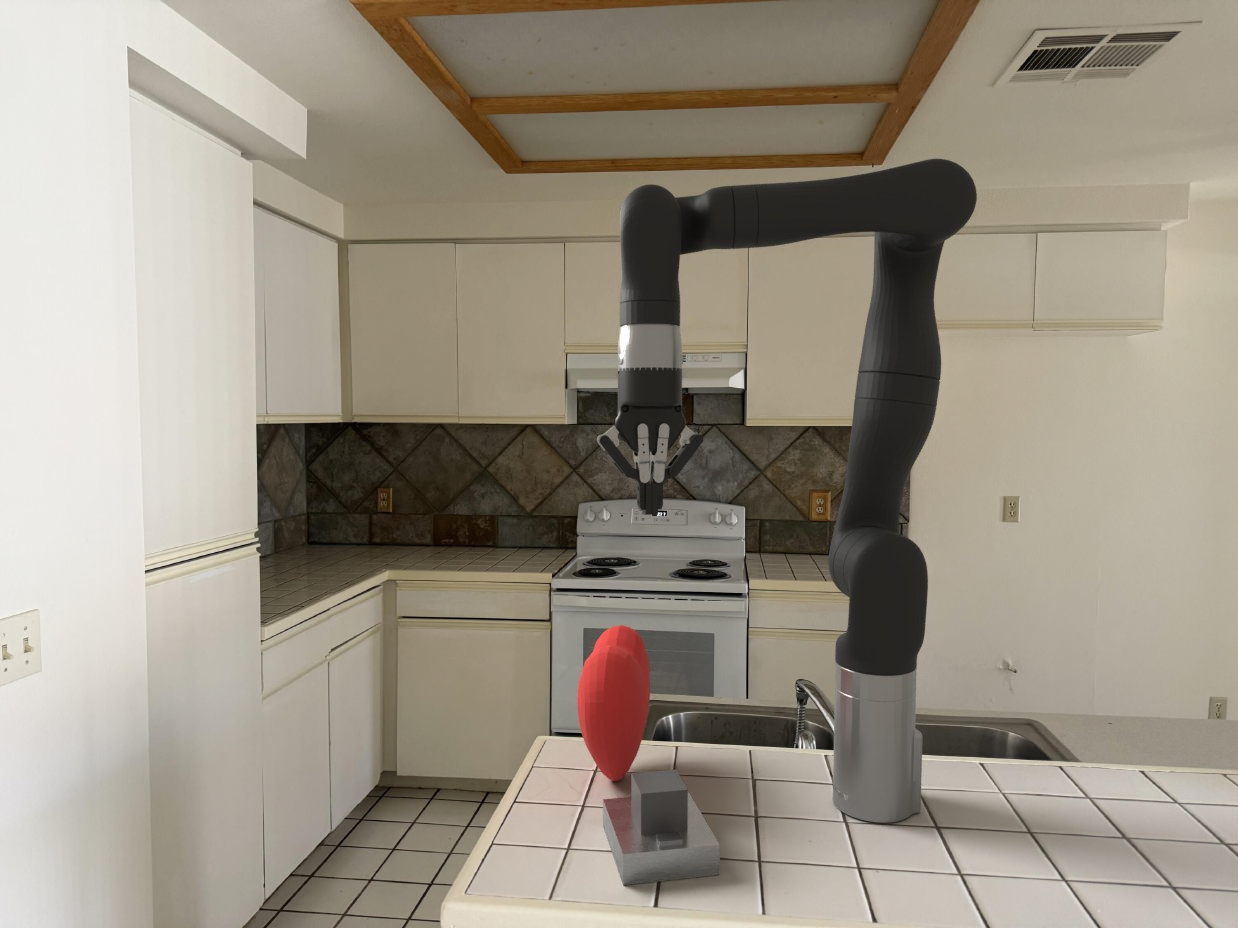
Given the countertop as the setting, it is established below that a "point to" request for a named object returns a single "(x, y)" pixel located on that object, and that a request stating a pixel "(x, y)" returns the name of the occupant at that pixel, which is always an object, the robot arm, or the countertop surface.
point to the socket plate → (659, 846)
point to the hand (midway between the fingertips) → (649, 513)
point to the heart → (614, 700)
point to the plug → (659, 802)
